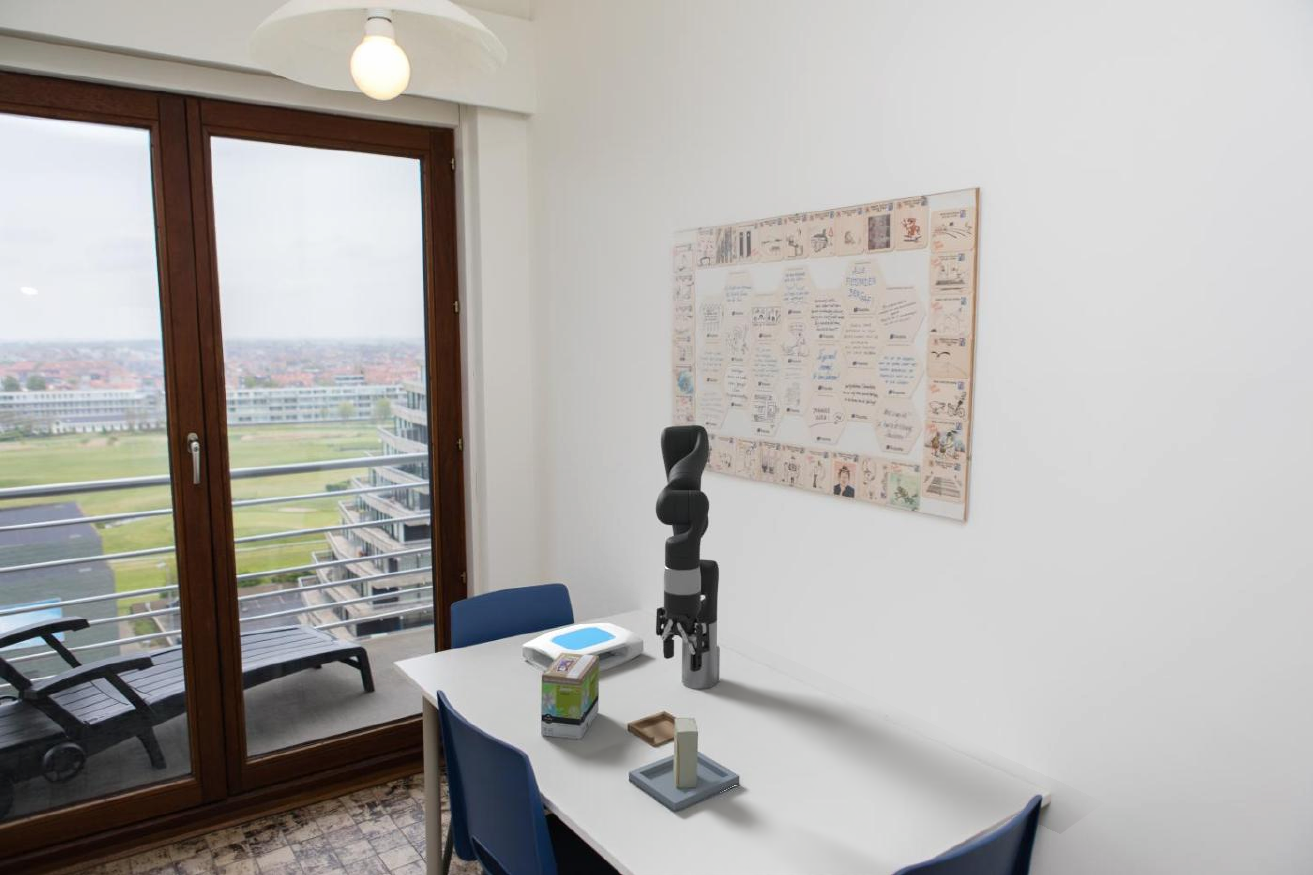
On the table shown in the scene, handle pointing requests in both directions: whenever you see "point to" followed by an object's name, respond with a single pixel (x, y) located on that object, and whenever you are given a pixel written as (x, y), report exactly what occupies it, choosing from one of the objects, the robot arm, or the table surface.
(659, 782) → the tray
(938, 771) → the table surface
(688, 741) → the skincare box
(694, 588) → the robot arm
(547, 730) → the tea box
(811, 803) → the table surface
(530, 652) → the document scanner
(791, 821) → the table surface
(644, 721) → the holder
